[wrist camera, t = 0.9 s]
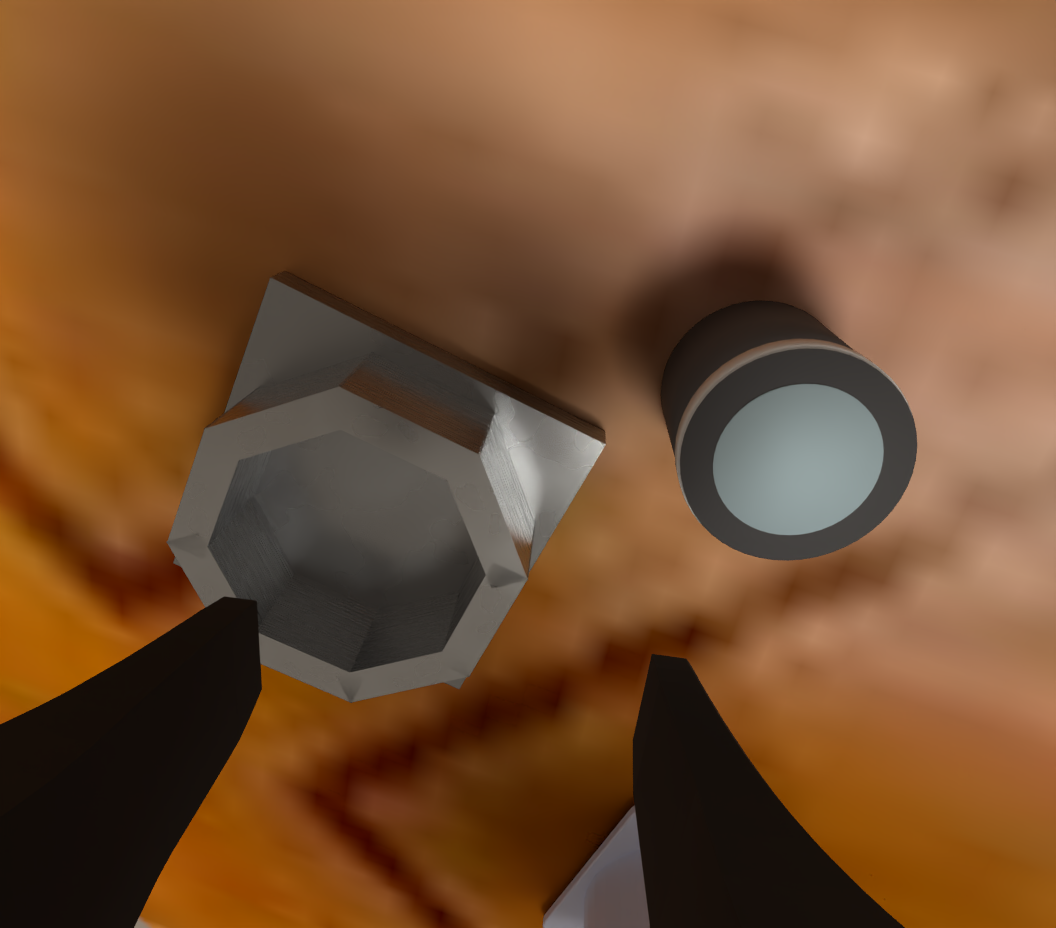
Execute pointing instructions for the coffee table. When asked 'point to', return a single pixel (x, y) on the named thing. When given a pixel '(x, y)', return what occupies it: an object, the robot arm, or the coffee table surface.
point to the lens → (784, 432)
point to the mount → (372, 497)
